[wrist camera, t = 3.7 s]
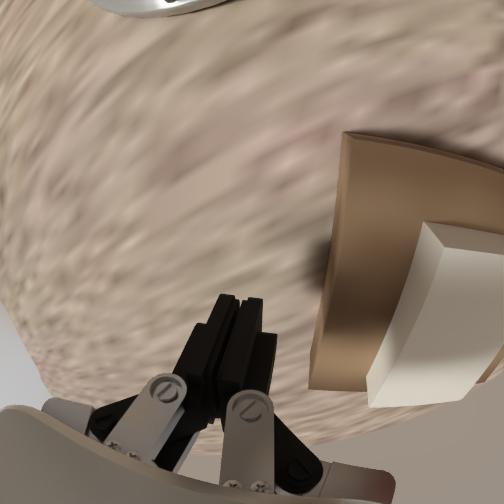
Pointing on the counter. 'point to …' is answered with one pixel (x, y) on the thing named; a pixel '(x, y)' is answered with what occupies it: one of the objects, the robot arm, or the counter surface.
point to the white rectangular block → (442, 320)
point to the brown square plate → (389, 243)
